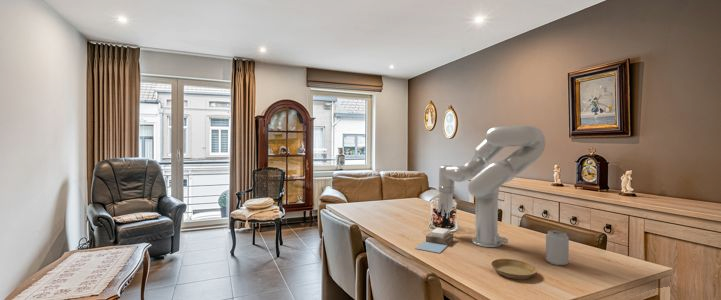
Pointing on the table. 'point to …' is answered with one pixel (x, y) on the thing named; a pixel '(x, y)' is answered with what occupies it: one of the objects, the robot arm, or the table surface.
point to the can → (557, 247)
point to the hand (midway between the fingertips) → (445, 225)
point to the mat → (431, 247)
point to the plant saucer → (513, 268)
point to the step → (440, 239)
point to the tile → (440, 232)
